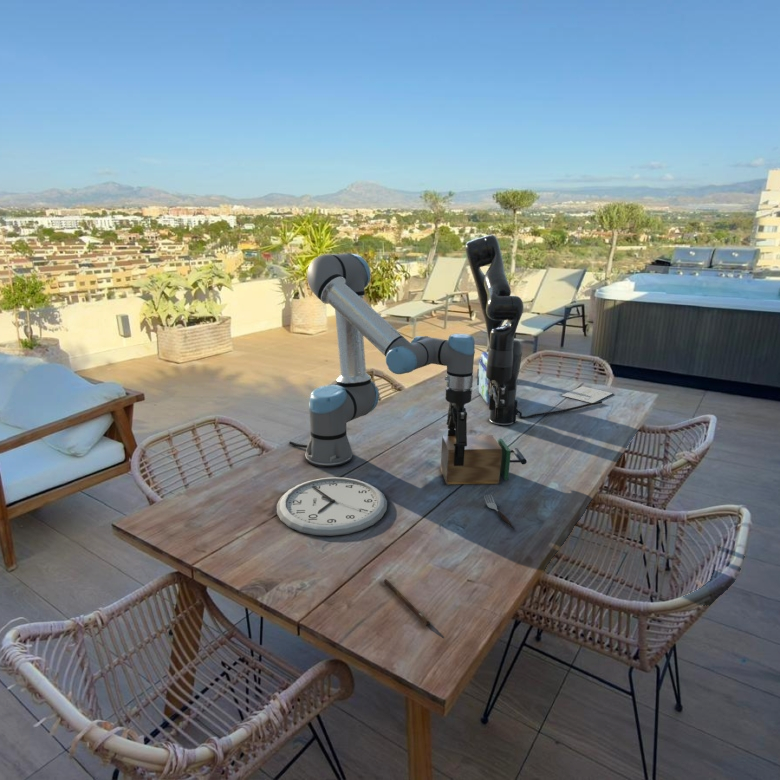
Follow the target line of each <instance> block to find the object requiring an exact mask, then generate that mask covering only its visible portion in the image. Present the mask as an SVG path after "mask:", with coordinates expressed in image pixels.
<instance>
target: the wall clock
mask: <svg viewBox="0 0 780 780" xmlns="http://www.w3.org/2000/svg"><path fill="white" fill-rule="evenodd" d="M387 509H388V500H387V498H386V496H385V494H384V493H383V492H382V491H381V490H380V489H379V488H377V487H376V486H374V485H372V484H371V483H369V482H365V481H362V480H359V479H355V478H349V477H338V476H337V477H335V476H333V477H332V476H331V477H322V478H317V479H312V480H307V481H305V482H302V483H299V484H297V485H295V486H293V487H292V488H290V489H288V490H287V491H286V492H285V493H284V494H283V495H281V496H280V498H279V499H278V502H277V503H276V515H277V517H278V518H279V520H280V521H281V522H282V523H283V524H285V525H286V526H287V527H288V528H290V529H293V530H295V531H297V532H299V533H303V534H308V535H312V536H327V537H328V536H329V537H331V536H332V537H333V536H342V535H350V534H352V533H356V532H361V531H363V530H366V529H368V528H369V527H372V526H373V525H375V524H376V523H378V522H379V521H380V520H381V519H382V518H383V517H384V516H385V514H386V512H387Z"/></svg>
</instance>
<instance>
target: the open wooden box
mask: <svg viewBox="0 0 780 780" xmlns="http://www.w3.org/2000/svg"><path fill="white" fill-rule="evenodd" d="M454 444H456V436H448V435H442V436H441V454H440V455H441V456H440V472H441V474H442V476H443V479H444V481H445V484H446V485H488V484H489V485H491V484H493V485H494V484H496V485H497V484H500V476H501V473H500V466H501V455H502V448H501V447H500V445H499V444H498V440H497V439H496V438H495V436H494V435H492V434H489V435H488V434H485V435H483V434H482V435H481V434H479V435H473V434H472V435H467V446H465V449H464V465H463V466H454V454H455V446H454Z"/></svg>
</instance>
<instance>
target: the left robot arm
mask: <svg viewBox="0 0 780 780" xmlns="http://www.w3.org/2000/svg"><path fill="white" fill-rule="evenodd" d="M371 275H372V274H371V267H370V266H369V264H368V262H367V261H366V260H365V258H364V257H362V256H361V255H359V254H357V253H347V252H345V253H335V254H334V253H332V254H327V253H326V254H321V255H319V256H317V257H314V259H313V260H312V261H311V262H310V264H309V265H308V268H307V271H306V280H307V284H308V286H309V288H310V290H311V292H312V293H313V294H314V296H316V297H317V299H319V301H321V302H322V303H323V304H324V305H330V306H331V307H332V308H333V309H334V313H335V314H334V316H335V325H336V336H337V337H336V338H337V349H338V360H339V371H340V372H339V373H340V374H339V376H338V377H337V378H336V384H328V385H322V386H319V387H316V388H315V389H313V391H311V393H310V395H309V403H308V408H309V428H310V437H309V440H308V444H303V443H296V442H294V441H289V442H288V443H289V445H292V446H294V447H297V448H298V447H299V448H305V461H306V462H307V463H308V464H310V465H312V466H314V467H318V468H335V467H341V466H344V465H346V464H348V463H350V462H351V460H352V458H353V449H352V447H351V443H350V441H349V438H348V435H347V423H349V422H351V421H353V420H356V419H359V418H361V417H363V416H364V417H365V416H366V415H368V414H369V413H371V412H372V411H374V410H375V409H376V408H377V406H378V404H379V401H380V399H379V398H380V393H379V389H378V387H377V386H376V384H375V382H373V381H372V377H371V375H369V374H368V373H367V369H366V355H365V342H364V339H366V340H368V341H369V343H371V344H372V345H373V347H375V348H376V349H377V350H378V351H379V352H380V353H381V354H382V355H383V356H384V357H385V364H386V365H387V369H388V370H389V371H390V372H391V373H392V374H395V375H404V374H409V373H412V372H413V371H415V370H418V369H421V368H423V367H427V366H429V365H436V366H437V365H438V366H442V367H443V366H444V367H446V376H444V380H445V381H446V382H445V383H446V384H445V385H446V388H445V400H446V402H448V411H447V418H446V426H447V436H456V444H454V446H455V454H454V466H463V465H464V449H465V446H467V436H468V429H467V427H468V425H467V424H468V423H467V422H468V421H467V419H468V412H467V410H466V409H467V408H466V407H465V405H466V404H469V403H470V402H471V401H472V393H473V390H472V388H473V382H474V381H473V380H474V363H475V361H474V360H475V354H476V350H475V346H476V345H475V338H474V336H472V335H471V334H466V333H453V334H450V335H449V336H448V338H447V339H442V338H435V337H430V336H426V335H425V336H424V335H423V336H421V335H419V336H418V335H417V336H415V337H414V338H413V339H412V340H411V341H409V340H408V339H407V338H406V337H405V336H404V335H402V334H401V333H400V332H399V331H398V330H397V329H396V328H394V327H393V326H392V324H390V323H389V322H388V321H387V320H386V319H385V318H384V317H382V316H381V315H380V314H379V313H378V312H377V311H376V310H375V309H374V308H373V307H371V306H370V304H368V303H367V302H366V301H365V300H364V297H365V296H366V291H365V290H366V289H365V288H367V286H368V285H369V284H370V281H371Z"/></svg>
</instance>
